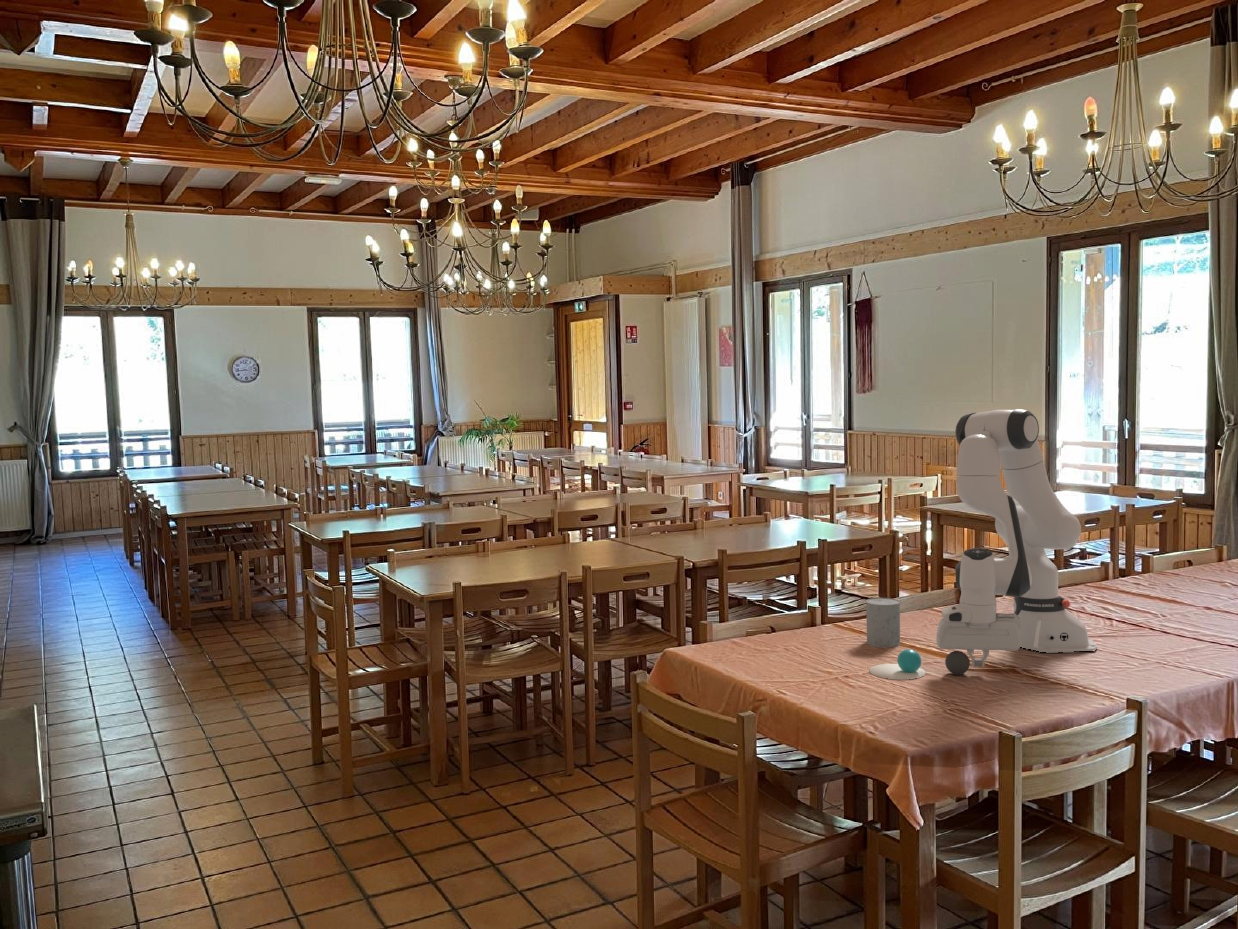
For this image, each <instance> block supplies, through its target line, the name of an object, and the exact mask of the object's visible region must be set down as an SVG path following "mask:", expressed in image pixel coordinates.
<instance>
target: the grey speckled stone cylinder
mask: <svg viewBox="0 0 1238 929" xmlns="http://www.w3.org/2000/svg"><path fill="white" fill-rule="evenodd" d="M865 603H866V608H865V609H866V644H867V645H869V646H870V647H875V648H883V647H886V648H887V649H888V648H895V647H899V646H901V601H900V600H899V599H895V598H889V597H873V598H868V599H866V600H865Z"/></svg>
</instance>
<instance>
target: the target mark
mask: <svg viewBox="0 0 1238 929" xmlns="http://www.w3.org/2000/svg"><path fill="white" fill-rule="evenodd" d="M869 672H870V674H871V675H873V676H874V677H875V676H876V677H878V678H882V679H886V678H888V679H887V680H895V681H896V680H897V681H907V680H909V679H910V680H916V679H915V678H917V679H920V678H923V677H925V675H926V671H925V670H924V669H923V668H921V667H920V668H919V669H918V670H917V671H915V672H912V673H908V672H905V671H903V670H902V669H901V668H900V667H899V665H898V663H883V664H878V665H876V664H875V665H874V666H871V667H870V668H869ZM922 676H923V677H922Z"/></svg>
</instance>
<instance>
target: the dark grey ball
mask: <svg viewBox="0 0 1238 929" xmlns="http://www.w3.org/2000/svg"><path fill="white" fill-rule="evenodd" d="M944 664H945V667H946V669H947V670H948V671H949V672H950V673H952V674H953V675H956V674H957V675H958V676H959V675H964V674H965V673H967V671H969V669H970V666H971V661H970V658H969V655H967V654H966V653H964V652H962V651H961V650H960V651H959V650H954V651H951V652H949V653H948V654H947V656H946V657H945V662H944ZM957 675H956V676H957Z"/></svg>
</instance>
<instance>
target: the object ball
mask: <svg viewBox="0 0 1238 929" xmlns="http://www.w3.org/2000/svg"><path fill="white" fill-rule="evenodd" d="M896 660H897V664H898V665H899V667H900V668H901V669H902V670H903V671H905V672H908V673H912V672H915V671H917V670H918V669H919V668H921V666H922V657H921V655H920V654H919V653H918V652H917V651H916V650H914V649H911V648H909V649H908V648H907V649H904V650H901V651H900V653H899V654H898V656H897V659H896Z"/></svg>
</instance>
